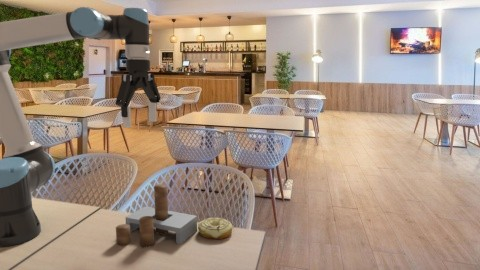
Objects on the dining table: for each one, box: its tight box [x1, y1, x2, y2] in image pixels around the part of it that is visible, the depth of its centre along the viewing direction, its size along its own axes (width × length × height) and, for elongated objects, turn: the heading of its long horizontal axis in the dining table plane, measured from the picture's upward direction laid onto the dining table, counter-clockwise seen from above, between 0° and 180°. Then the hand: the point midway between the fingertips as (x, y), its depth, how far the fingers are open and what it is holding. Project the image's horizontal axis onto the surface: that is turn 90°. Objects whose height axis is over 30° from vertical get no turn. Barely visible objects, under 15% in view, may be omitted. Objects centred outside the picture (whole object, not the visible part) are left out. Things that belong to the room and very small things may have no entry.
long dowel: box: [153, 183, 169, 235], centre depth 118 cm, size 4×4×15 cm
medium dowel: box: [139, 216, 155, 248], centre depth 110 cm, size 4×4×8 cm
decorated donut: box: [197, 217, 234, 240], centre depth 119 cm, size 10×11×4 cm
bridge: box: [124, 206, 198, 245], centre depth 119 cm, size 20×10×5 cm, turn 67°
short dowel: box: [115, 223, 132, 247], centre depth 111 cm, size 4×4×5 cm
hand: (140, 124), depth 124 cm, fingers open, 13 cm apart
